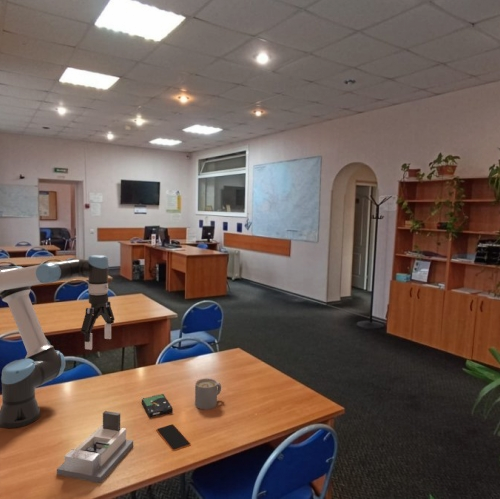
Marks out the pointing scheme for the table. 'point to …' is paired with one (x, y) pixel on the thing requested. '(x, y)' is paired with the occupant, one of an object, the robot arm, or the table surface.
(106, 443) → the dark grey angular piece
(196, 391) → the coffee mug
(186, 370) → the table surface
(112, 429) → the plunger
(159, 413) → the disk drive
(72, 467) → the brushed metal slab
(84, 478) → the bench
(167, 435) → the smartphone
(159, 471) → the table surface
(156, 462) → the table surface
